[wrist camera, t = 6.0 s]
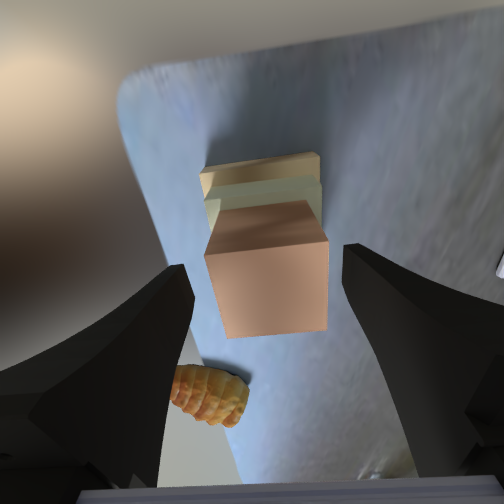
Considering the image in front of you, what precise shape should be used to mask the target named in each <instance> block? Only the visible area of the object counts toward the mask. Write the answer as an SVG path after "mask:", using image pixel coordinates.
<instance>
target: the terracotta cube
mask: <svg viewBox="0 0 504 504" xmlns="http://www.w3.org/2000/svg"><path fill="white" fill-rule="evenodd" d="M204 258H205V261H206V265H207V268H208V272H209V276H210V279H211V283H212V286H213V290H214V293H215V297H216V301H217V304H218V308H219V311H220V315H221V318H222V322H223V325H224V329H225V333H226V336H227V339H230V338H242V337H253V336H265V335H277V334H288V333H300V332H312V331H323V330H327V308H328V263H329V240H328V238H327V237H326V235H325V233H324V231H323V229H322V228H321V226H320V224H319V222H318V220H317V219H316V217H315V215H314V213H313V211H312V209H311V208H310V206H309V204H308V202H307V200H299V201H292V202H284V203H276V204H269V205H261V206H253V207H245V208H238V209H230V210H222V211H219V214H218V217H217V219H216V222H215V225H214V228H213V231H212V234H211V237H210V240H209V242H208V245H207V248H206V251H205V254H204Z"/></svg>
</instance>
